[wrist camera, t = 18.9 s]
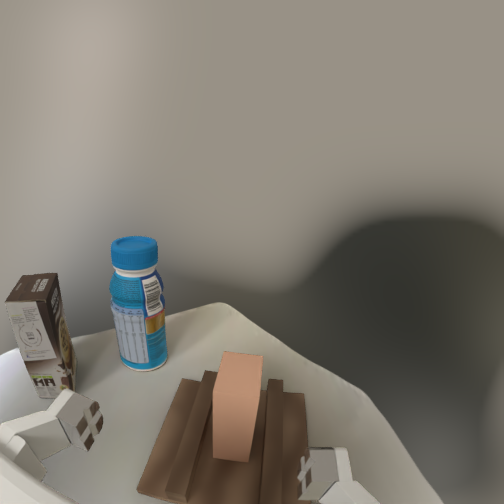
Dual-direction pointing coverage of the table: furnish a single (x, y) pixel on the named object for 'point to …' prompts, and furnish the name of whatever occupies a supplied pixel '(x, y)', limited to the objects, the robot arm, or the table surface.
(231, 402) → the tall peach pillar
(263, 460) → the walnut rack
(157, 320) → the beverage bottle
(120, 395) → the table surface
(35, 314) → the coffee box
